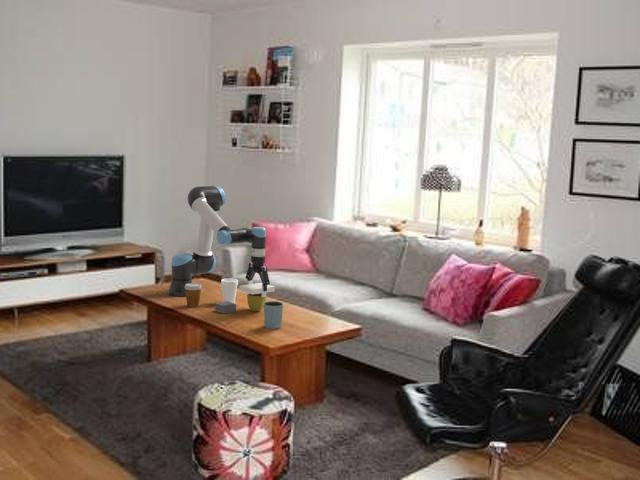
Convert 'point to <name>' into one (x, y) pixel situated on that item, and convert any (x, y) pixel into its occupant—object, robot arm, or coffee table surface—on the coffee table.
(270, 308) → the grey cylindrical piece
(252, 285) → the lid
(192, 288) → the disposable coffee cup
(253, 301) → the flower pot
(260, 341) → the coffee table surface
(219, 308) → the stand
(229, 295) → the foam cup
